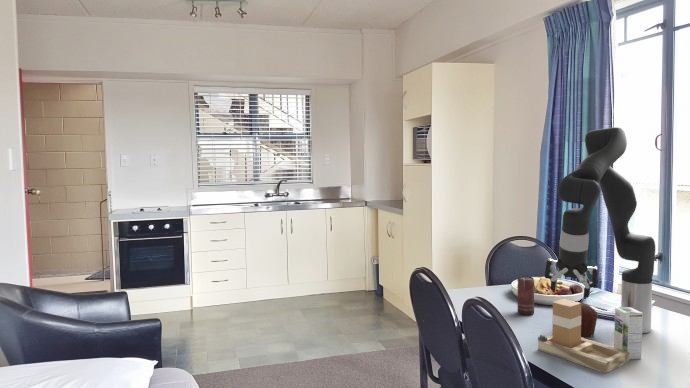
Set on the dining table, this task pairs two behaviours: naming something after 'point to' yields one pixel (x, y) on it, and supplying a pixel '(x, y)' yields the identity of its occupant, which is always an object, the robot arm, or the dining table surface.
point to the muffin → (588, 320)
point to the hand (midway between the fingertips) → (569, 294)
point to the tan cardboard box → (566, 323)
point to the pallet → (586, 353)
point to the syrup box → (628, 331)
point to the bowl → (546, 295)
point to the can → (526, 296)
